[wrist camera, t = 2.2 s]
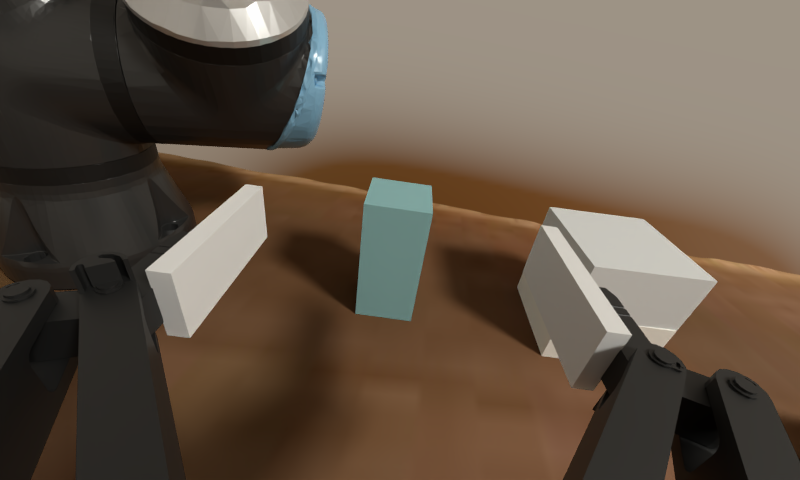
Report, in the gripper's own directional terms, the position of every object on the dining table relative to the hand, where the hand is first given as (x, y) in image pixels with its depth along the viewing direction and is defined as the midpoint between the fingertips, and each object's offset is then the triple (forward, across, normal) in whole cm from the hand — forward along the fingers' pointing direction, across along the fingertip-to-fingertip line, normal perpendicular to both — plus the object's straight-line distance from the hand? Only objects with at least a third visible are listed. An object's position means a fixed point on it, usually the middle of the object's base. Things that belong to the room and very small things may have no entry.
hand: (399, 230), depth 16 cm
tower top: (+10, +18, -9) cm, 23 cm away
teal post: (+10, 0, -14) cm, 17 cm away
